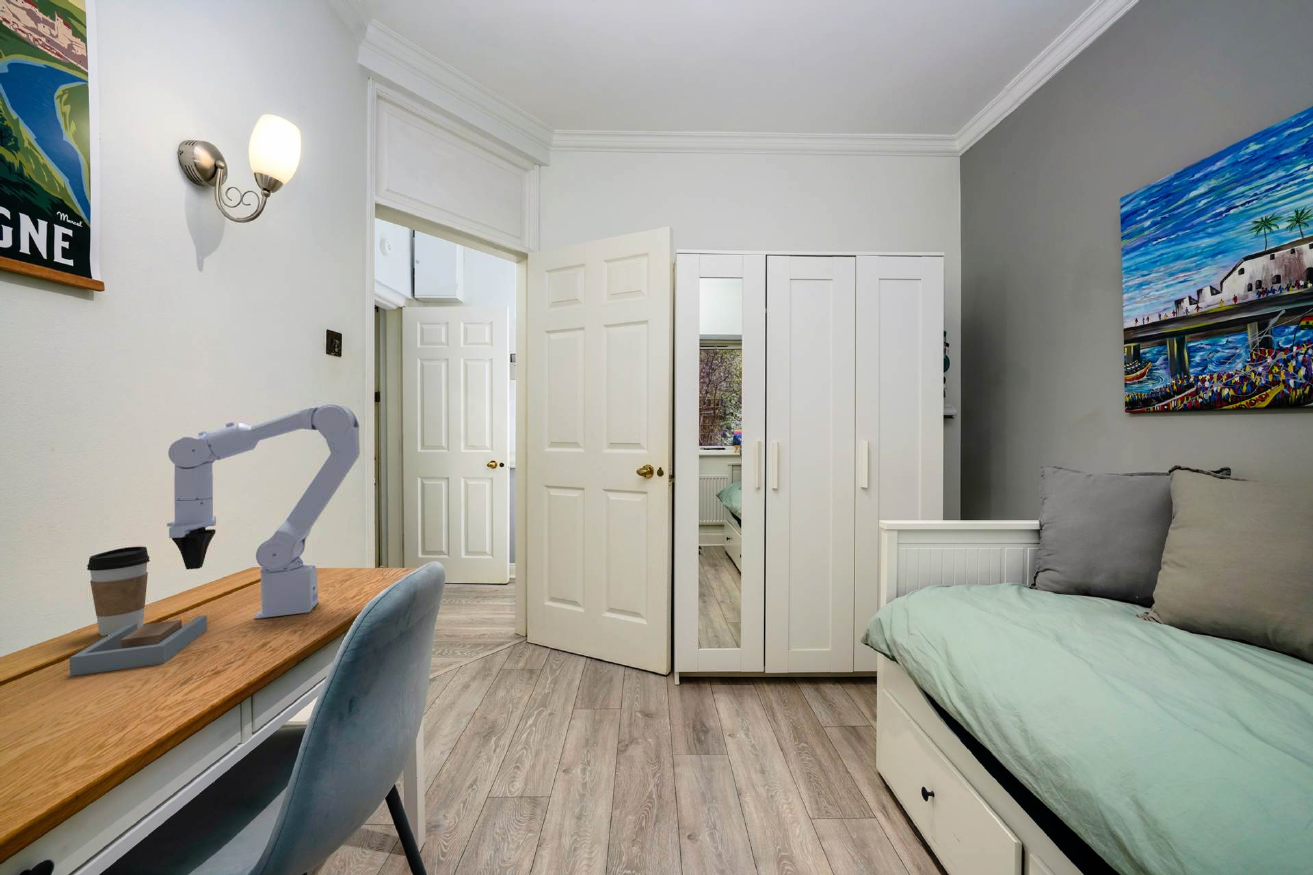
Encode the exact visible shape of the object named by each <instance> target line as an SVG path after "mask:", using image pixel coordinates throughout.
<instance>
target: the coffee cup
mask: <svg viewBox="0 0 1313 875" xmlns="http://www.w3.org/2000/svg"><path fill="white" fill-rule="evenodd" d="M149 562H150V556H149V553H148V550H147V547H146V546H141V545H140V546H138V545H137V546H129V547H121V548H117V549H116V548H115V549H112V550H108V551H105V552H104V551H103V552H101V553H97V554H93V555H91V556H90V557H89V560H88V564H87V565H86V567H87V569H86V570H87V571H89V572H90V578H91V580H90V581H89V582H90V587H91V594H92V600H93V605H94V610H95V615H96V620H97V629H98V634H99V635H100V636H102V637H107V636H106V635H110V634H112V633H114V632H116V631H118V630H119V629H121V628H123V627H125V626H126V625H128V624H134V623H137V628H138V629H139V628H141V627H142V626H144V624H145V623H144V622H145V621H144V620H145V619H144V618H145V607H146V599H147V597H146V596H147V587H148V586H147V584H148V577H149V576H148V575H149V572H147V570H148V563H149Z"/></svg>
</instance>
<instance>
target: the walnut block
mask: <svg viewBox="0 0 1313 875" xmlns="http://www.w3.org/2000/svg"><path fill="white" fill-rule="evenodd" d="M182 624H183V621H182V619H177V620H169V621H168V620H167V621H161V622H152V623H146V624H145V623H144V624H143V626H142V627H141V628H139V629H137V630H136V631H134V632H133V633H131V634H129V635H128V636H126V637H125V638H123V639H121V649H124V648H132V647H140V646H148V645H156V644H159V643H160V642H162V641H163V640H165V639H166V638H168V637H169V636H171V635H172V634H173V633H175V632H176V631H178V630H179V629H181V628H182V627H183V625H182Z"/></svg>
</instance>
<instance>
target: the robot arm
mask: <svg viewBox="0 0 1313 875" xmlns="http://www.w3.org/2000/svg"><path fill="white" fill-rule="evenodd" d="M360 427H361V426H360V423H359V421H358V419H357V416H356V414H355V413H354V412H353V411H352V410H351V409H350V408H348V407H347V406H343V405H342V406H341V405H339V404H335V403H333V404H332V403H329V404H328V403H327V404H324V405H321V406H313V407H309V408H304V409H300V410H297V411H294V412H291V413H288V414H285V415H282V416H279V417H276V418H272V419H270V420H267V421H263V422H260V423H258V424H254V425H252V426H251V425H249V424H246V423H243V422H239V423H236V422H234V421H233V422H228V423H225V427H222V428H219V429H216V430H212V431H209V432H207V431H200V432H198V434H197V435H198V436H197V437H192V436H183V437H181V438H180V439H178V440H176V441H174V442H173V443H172V444H170V446H169V448H168V454H167V455H168V458H169V460H170V461H171V462H172V463H173V465H174V478H173V480H174V484H173V485H174V490H173V491H174V493H173V494H174V496H173V497H174V499H173V500H174V521H169V522H166V527H168V535H169V536H168V537H169V539H171V540H172V541H173V542H174V544H175V545H176V547H177V549H178V550H179V553H180V554H181V558H182V561H183V564H184V566H185V570H198V569H201V568H202V567H203V565H204V562H205V558H206V555H207V551H208V548H209V545H210V543H211V541H212V539H213V538H214V536H215V534H216V532H217V530H216V529H214V528H212V529H211V528H209V529H206V528H208V527H215V526H216V525H217V516H216V515H214V489H213V487H214V477H213V476H214V475H213V464H214V462H216V461H220V460H224V459H227V458H230V457H233V456H236V455H237V456H238V455H240V454H243V453H245V452H246V453H247V452H249V451H252V450H255V449H256V446H257V445H258V443H259V442H260V441H262V440H266V439H270V438H273V437H277V436H281V435H284V434H289V433H291V432H295V431H298V430H309V431H318V432H319V433H320V435H321V436H322V437H323V438H324V439H325V442H326V444H327V447H328V450H329V452H330V454H329V456H328V458H327V459H326V461H324V463H323V465H322V466H321V468H320V469H319V471H318V472H317V474H316V475H315V477H314V479H312V481H311V482H310V484H309V486H308V487H307V488H306V489H305V492H304V493H302V495H301V497H300V498H299V501H298V502H297V503H296V505H295V506H294V508H292V510H291V512H290V513H289V515H288V517H287V518H286V519H285V521H284V522H282V524H281V525H280V526H279V527H278V528H277V530H276V531H275V532H274V534H273V535H272V536H271V537H270V538H269V539H266V540H264V541H263V542H262V543H261V544H260V545H259V546H258V547H257V549H256V553H255V559H256V563H257V564H258V565H259V566H260V588H261V589H260V590H261V593H260V594H261V596H260V598H261V610H260V611H258V613H257V614H255V615H254V616H253V618H254V619H262V618H272V617H280V616H288V615H290V616H291V615H297V614H307V613H310V612H311V611H312V610H313V609H314V607H316V605H317V604H318V603H319V602H320V601H319V600H320V599H319V592H318V590H319V588H318V571H317V567H316V565H314V564H313V565H308V564H307V565H305V564H304V561H303V560H302V558H301V556H302V555H303V553H304V551H305V548H306V541H307V538H308V536H309V535H310V533H311V530H312V528H313V527H314V525H315V523H316V522H317V520H318V518H319V517H320V515H321V514H322V513H323V511H324V510H325V508H326V507H327V505H328V503H329V502H330V500H331V499H332V498H333V496H334V495H335V493H336V492H337V490H338V488H340V486H341V484H342V482H343V481H344V480H345V478H346V477H347V476H348V473H349V472H350V470H351V469H352V467H353V466H354V465H355V463H356V462H357V460H358V459H359V456H360V453H361V449H360V448H361V447H360Z"/></svg>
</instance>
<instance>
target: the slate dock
mask: <svg viewBox="0 0 1313 875" xmlns="http://www.w3.org/2000/svg"><path fill="white" fill-rule="evenodd" d="M137 629H138V628H137V623H134V624H128V625H126V626H125V627H123V628H121V629H119V630H118V631H116V632H114V633H112V634H110V635H109V636H104V637H103V638H102V639H100V640H98V641H96V642H94V643H93V644H91V645H89V646H88V647H86V648H84V649H82V650H81V651H78V652H77V653H75V654H74V655H72V656H70V657H69V676H70V677H73V676H74V677H75V676H79V675H80V676H81V675H88V674H94V673H101V672H102V673H104V672H109V671H117V670H125V669H131V668H139V667H145V666H146V667H147V666H152V665H153V666H154V665H160V664H165V663H166V662H168V661H169V660H170V659H171V658H173V657H174V656H175V655H176V654H179V653H180V651H182V650H183V649H184V648H186V647H187V646H189V645H190V644H191V643H193V642H194V641H195V640H196V639H198V638H199V637H201V636H202V635H203V634H204V633H206V632H207V631H208V615H207V614H205V615H204V614H203V615H198V616H196V617H195V618H194V619H192V620H191V621H189V622H188V623H186V624H185V625H184V626H182V628H181V629H179V630H178V631H176V632H175V633H173V634H172V635H171V636H169V637H168V638H166V639H165V640H163V641H162V642H160V643H159V644H156V645H148V646H140V647H132V648H124V649H121V639H123V638H125V637H126V636H128V635H129V634H131V633H133V632H134V631H136V630H137Z"/></svg>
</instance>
